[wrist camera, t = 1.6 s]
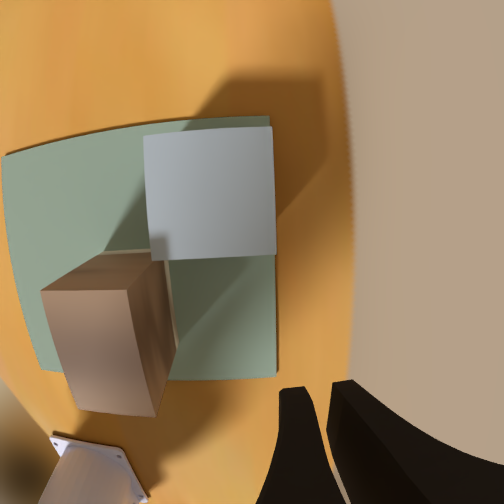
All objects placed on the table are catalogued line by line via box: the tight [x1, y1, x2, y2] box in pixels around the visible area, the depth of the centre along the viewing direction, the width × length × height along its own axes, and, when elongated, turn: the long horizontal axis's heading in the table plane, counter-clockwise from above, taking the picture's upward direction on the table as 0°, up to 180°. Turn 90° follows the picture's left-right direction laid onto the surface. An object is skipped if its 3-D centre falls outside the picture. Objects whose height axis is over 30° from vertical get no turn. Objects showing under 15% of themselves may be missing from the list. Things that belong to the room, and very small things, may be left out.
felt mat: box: [2, 116, 276, 380], centre depth 17 cm, size 16×18×1 cm
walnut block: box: [40, 249, 179, 417], centre depth 14 cm, size 6×4×7 cm, turn 2°
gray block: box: [143, 127, 277, 261], centre depth 14 cm, size 5×5×5 cm
